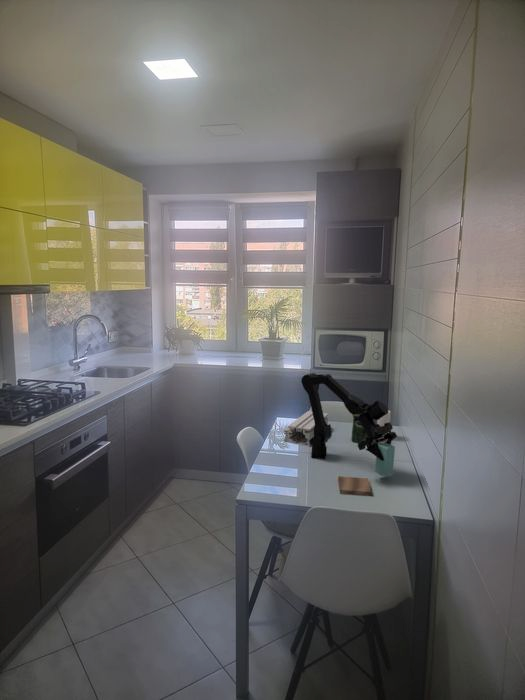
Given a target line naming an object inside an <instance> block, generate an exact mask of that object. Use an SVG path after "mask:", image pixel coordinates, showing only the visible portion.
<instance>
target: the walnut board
mask: <svg viewBox="0 0 525 700" xmlns="http://www.w3.org/2000/svg"><path fill="white" fill-rule="evenodd" d="M337 477H338V479H337V481H338V488H339V489H338V491H339V494H341V495H342V494H343V495H354V494H357V496H367V495H368V496H369V497H371V496H373V495H372V494H373V492H372V488H371V487H372V486H371V484H370V480H369V478H367V477H355V476H354V477H352V476H342V475H341V476H337Z"/></svg>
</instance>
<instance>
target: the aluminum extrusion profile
mask: <svg viewBox="0 0 525 700" xmlns="http://www.w3.org/2000/svg"><path fill="white" fill-rule="evenodd" d="M323 415H324V419H325V422H326V423H327V424H328V422H329V418H328V416H329V413H328V412H327V413H326V412H323ZM314 426H315V422H314V418H313V413H312V410H308V411H306V412H305V413H303V414H301V416H299V417H298V418H297V419H295V420H294V421H293V422H291V423H290V424H289V425H288V426H287V427H285V428H284V429H283V433H284V437H283V438H282V442H284V443H288V444H294V445H299V446H304V447H305V446H306V447H311V445H310V443H309V440H310V439H311V438H313V437H314Z"/></svg>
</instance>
